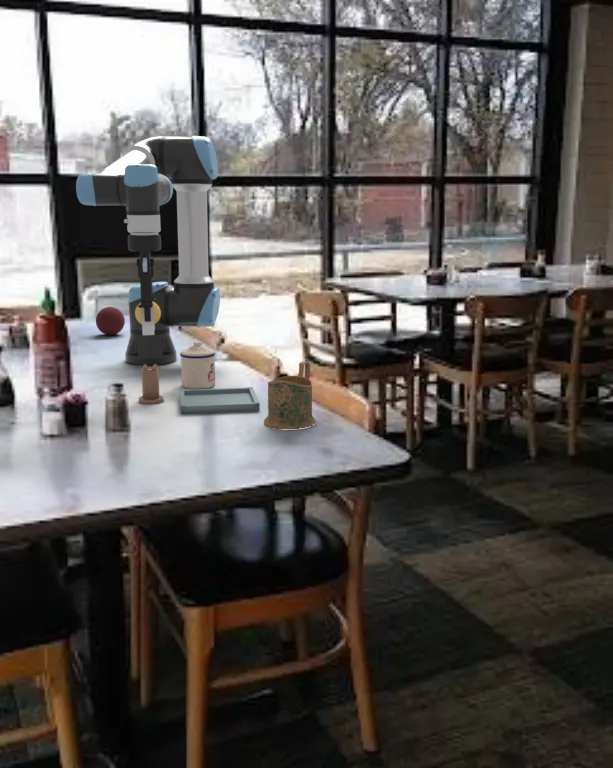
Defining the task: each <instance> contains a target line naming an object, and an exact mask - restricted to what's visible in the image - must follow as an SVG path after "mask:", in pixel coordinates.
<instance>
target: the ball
mask: <svg viewBox="0 0 613 768" xmlns="http://www.w3.org/2000/svg"><path fill="white" fill-rule="evenodd" d="M152 302H153V301H152ZM138 305H141V303H139V304H138ZM152 307H153V314H154V324H156V323H157V322H158V321H159V319H160V316H161V311H160V308H159V306H158V305H157V304H156V303H155V302H153V306H152ZM135 316H136V319H137V320H138V322H139V323H141V324H142V312H141V308H138V306H137V307H136V310H135Z"/></svg>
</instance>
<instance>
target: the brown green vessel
mask: <svg viewBox="0 0 613 768" xmlns="http://www.w3.org/2000/svg"><path fill="white" fill-rule="evenodd" d="M310 377H311V366H310V362H309V361H303V360H302V361H300V362H299V364H298V374H297V375H285V376H281V377H277V378H276V379H275V378H274V379H272V380H271V381H268V382H267V408H268V409H267V412H268V413H267V416H266V417H265V418H264V419H263V424H264V426H265V427H267V428H269V427H270V429H272V428H275V429H274V430H277V429H299V428H305V427H309V426H312V425H313V424H315V423H316V424H317V419H316V418H315V417H314V416H313V382H312V380H310Z"/></svg>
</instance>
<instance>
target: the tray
mask: <svg viewBox="0 0 613 768" xmlns="http://www.w3.org/2000/svg"><path fill="white" fill-rule="evenodd" d="M179 392H180V393H179V394H180V396H179V397H180V413H181V415H192V414H193V415H194V414H195V415H197V414H216V413H221V414H222V413H241V412H242V413H243V412H260V411H261V410H260V409H261V408H260V407H261V406H260V405H261V403H260V402H259V401H260V400H259V398H258V396H257V395H256V392H255V390H254V387H253V386H250V387H249V386H247V387H223V388H221V387H220V388H218V387H217V388H205V389H179Z"/></svg>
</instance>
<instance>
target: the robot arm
mask: <svg viewBox="0 0 613 768" xmlns="http://www.w3.org/2000/svg"><path fill="white" fill-rule="evenodd" d="M218 166H219V165H218V157H217V153H216V149H215V147H214V144H213V142H212V140H211V139H210V138H209V137H207V136H202V135H201V136H198V135H179V136H178V135H176V136H175V135H174V136H173V135H171V136H170V135H169V136H163V135H159V136H153V137H149V138H146V139H142V140H139V141H137V142H135V143H134V144H132V145H130V146H129V147H127V148H126V149H125V150H124V151H123V153H122V155H121V156H120V157H119V158H118V159H117V160H115V161H113V162H111V163H110V164H109V165H107V166H106V167H104V168H103V169H102V170H100V171H98V172H96V173H92V172H89V173H81V174H79V175H78V177H77V179H76V182H75V184H76V185H75V188H76V189H75V191H76V197H77V199H78V201H79V203H80V204H81V205H85V206H94V207H96V206H103V207H104V206H125V208H126V209H125V210H126V211H125V212H126V218H124V220H123V223H124V224H127V225H126V226H127V228H126V229H127V232H128V233H130V234H128V236H127V245H128V246H127V249H128V251H130V252H133V253H136V252H137V253H139V258H137V259H136V267H137V272H138V273H137V274H138V275H137V276H138V279H139V282H140V284H137V285H132V286H131V287H130V289H129V291H128V300H127V301H128V302H127V303H128V313H129V330H130V331H129V332H130V335H129V340H128V343H127V347H126V350H125V355H124V356H125V362H126V363H128V364H130V365H137V366H138V365H140V366H143V365H147V366H153V365H154V364H156V365H157V366H158V365H164V364H170V363H173V362H176V361H177V360H178V359H177V358H178V357H177V350H176V347H175V345H174V342H173V339H172V335H171V334H170V333H171V332H170V329H171V328H170V327H187V328H188V327H191V328H193V327H194V328H195V327H197V328H202V327H203V328H206V327H212V326H213V325H214V324H215V323H216V321H217V319H218V315H219V310H220V303H221V291H220V288H219V287H217V286H215V281H214V279H213V278H212V277H211V276H210V274H209V233H208V232H209V231H208V227H209V226H208V192H209V190H210V189H211V187H212V186H213V180H216V179H217V178H218V174H219V167H218ZM174 190H175V191H176V212H177V213H176V215H177V217H176V218H177V241H178V242H177V247H178V248H177V249H178V251H177V252H178V276H177V277H176V278H175V279H174V281H173V286H170V285H169V283H168V282H167V281H155V282H153V279H154V274H155V271H154V267H155V258H153V257H151V253H152V252H159V251H161V250H162V239H161V237H162V236H161V235H160V232H161V231H162V230H161V228H162V227H161V214H160V206H161V207H162V206H163V205H165V204H167V203H169V201H170V200H171V198H172V197H173V194H174ZM152 301H153V302H155V303H156V304H157V305H158V306H159V308H160V311H161V316H160V319H159V321H158V322H157V323H156V324H154V314H153V307H152V306H153V302H152ZM139 303H141V305H138V304H139ZM137 306H138V308H141V312H142V324H141V323H139V322H138V320H137V319H136V316H135V310H136V307H137Z"/></svg>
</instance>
